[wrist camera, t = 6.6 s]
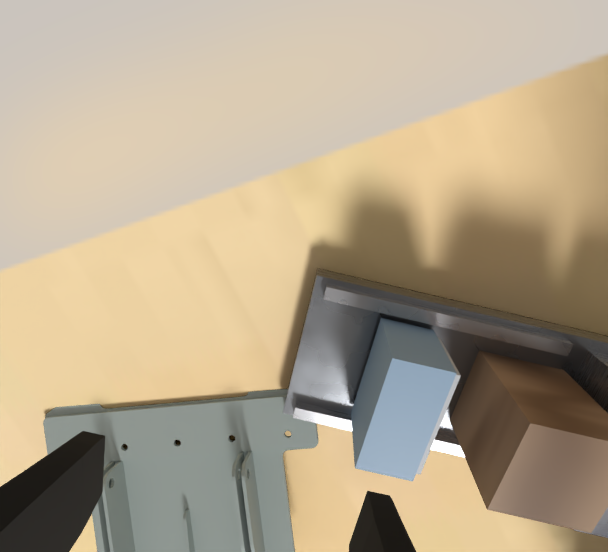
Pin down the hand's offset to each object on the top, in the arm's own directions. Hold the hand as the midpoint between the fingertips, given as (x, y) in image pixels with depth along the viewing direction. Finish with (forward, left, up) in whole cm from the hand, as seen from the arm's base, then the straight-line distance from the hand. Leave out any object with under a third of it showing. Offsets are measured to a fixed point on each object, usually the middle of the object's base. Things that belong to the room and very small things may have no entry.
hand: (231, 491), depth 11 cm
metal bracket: (+2, +11, -10) cm, 15 cm away
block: (-11, 0, -9) cm, 14 cm away
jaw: (-6, 0, -8) cm, 10 cm away
